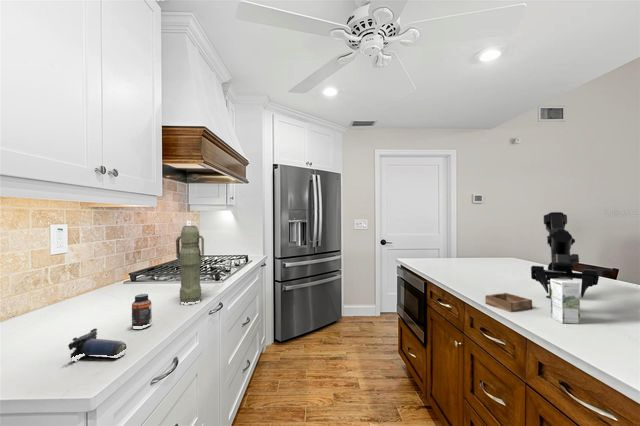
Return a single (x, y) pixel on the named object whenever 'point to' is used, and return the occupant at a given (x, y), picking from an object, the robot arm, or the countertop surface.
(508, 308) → the walnut caddy
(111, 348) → the spiky navy capsule
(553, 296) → the syrup box
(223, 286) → the countertop surface
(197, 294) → the thermos
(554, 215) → the robot arm
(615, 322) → the countertop surface
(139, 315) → the supplement bottle
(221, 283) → the countertop surface
